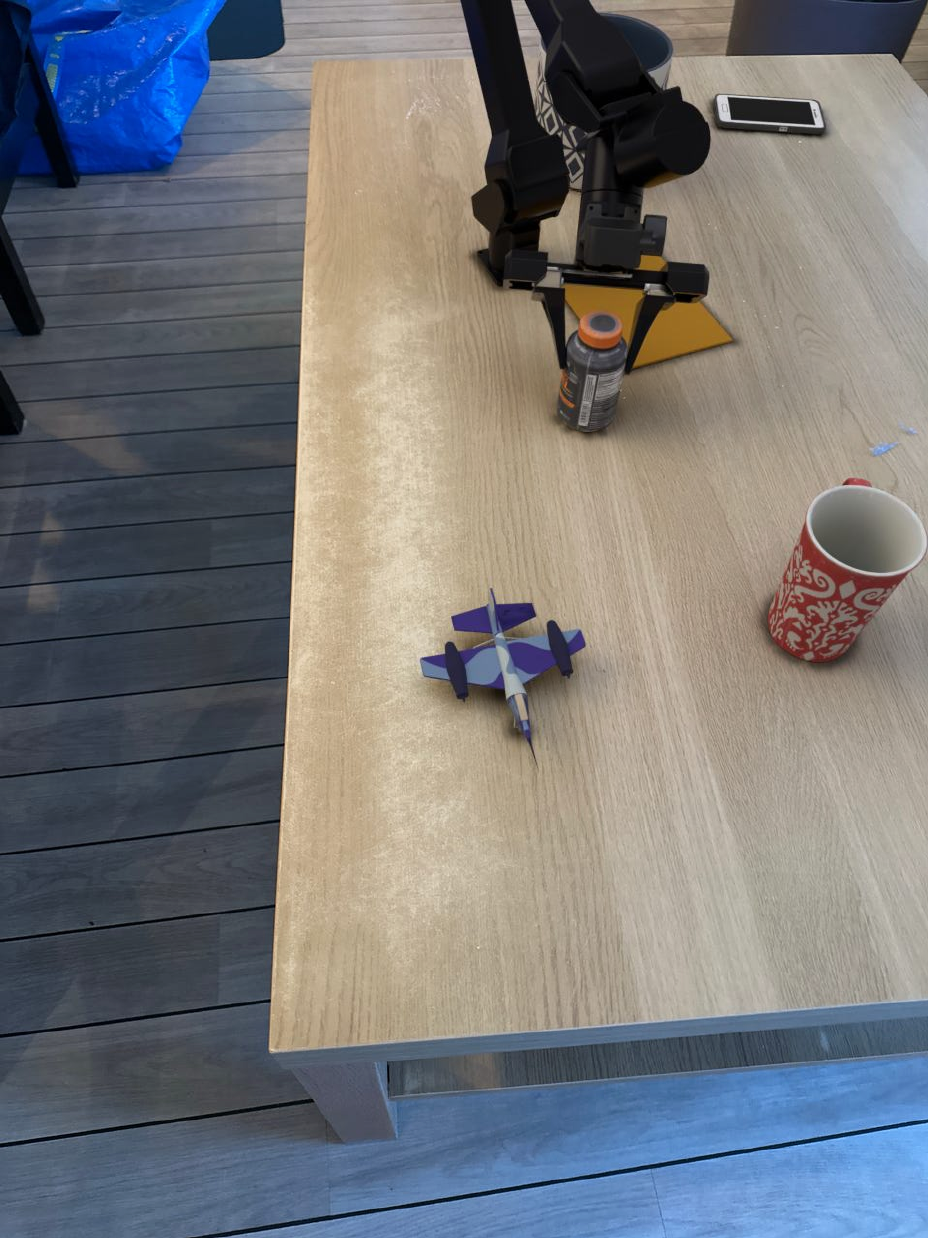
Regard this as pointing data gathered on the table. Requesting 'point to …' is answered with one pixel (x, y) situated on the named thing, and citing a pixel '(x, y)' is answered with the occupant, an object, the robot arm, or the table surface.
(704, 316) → the cloth
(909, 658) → the table surface
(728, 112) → the cell phone
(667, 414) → the table surface
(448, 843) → the table surface
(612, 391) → the pill bottle
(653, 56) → the planter
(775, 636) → the mug
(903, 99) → the table surface
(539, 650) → the toy airplane
